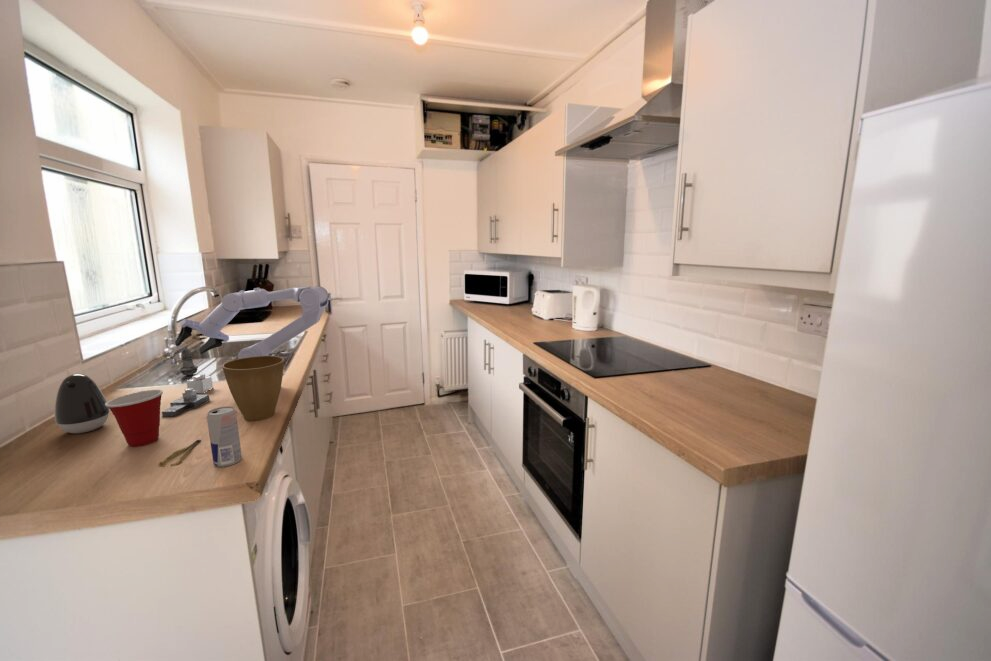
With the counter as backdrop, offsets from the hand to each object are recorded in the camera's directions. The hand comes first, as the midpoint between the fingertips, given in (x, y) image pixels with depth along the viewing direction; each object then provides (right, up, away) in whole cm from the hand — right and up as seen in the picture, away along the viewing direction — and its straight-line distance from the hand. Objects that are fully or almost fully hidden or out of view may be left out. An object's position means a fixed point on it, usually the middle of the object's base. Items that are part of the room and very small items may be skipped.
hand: (188, 347), depth 137 cm
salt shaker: (-14, -12, +20) cm, 27 cm away
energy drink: (+42, -24, -45) cm, 66 cm away
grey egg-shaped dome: (-7, -21, -27) cm, 35 cm away
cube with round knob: (+2, -15, +3) cm, 15 cm away
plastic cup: (+14, -22, -35) cm, 44 cm away
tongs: (+29, -24, -40) cm, 55 cm away
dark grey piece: (+8, -18, -13) cm, 23 cm away
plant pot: (+34, -19, -19) cm, 43 cm away
